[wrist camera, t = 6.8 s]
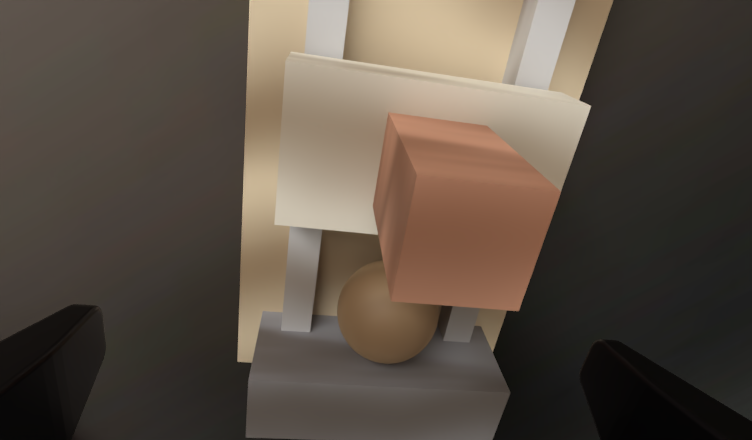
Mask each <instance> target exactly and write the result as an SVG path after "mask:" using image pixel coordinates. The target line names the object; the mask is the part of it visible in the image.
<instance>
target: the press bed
mask: <svg viewBox="0 0 752 440" xmlns="http://www.w3.org/2000/svg"><path fill="white" fill-rule="evenodd" d="M612 3H613V0H250V5H249V35H248V64H247V94H246V123H245V153H244V182H243V212H242V241H241V271H240V300H239V330H238V360H237V362H250V363H252V365H251V370H250V375H249V379H248V398H247V418H246V438H278V439H311V440H493V437H494V434H495V432H496V429H497V426H498V424H499V421H500V419H501V416H502V413H503V411H504V408H505V406H506V403H507V400H508V398H509V395H510V391H509V388H508V386H507V384H506V382H505V379H504V377H503V375H502V373H501V370H500V368H499V366H498V364H497V361H496V359H495V357H494V355H493V350H494V347H495V344H496V341H497V338H498V335H499V332H500V329H501V327H502V324H503V321H504V318H505V315H506V312H507V310H498V309H485V308H471V307H458V306H445V305H438V306H439V318H438V324H437V328H436V331H435V333H434V335H433V337H432V339H431V341H430V342H429V343H428V345H427V346H426V347H425V348H424V349H423V350H422V351H421V352H420V353H418V354H417V355H416V356H414V357H412V358H410V359H408V360H406V361H403V362H399V363H392V364H384V363H378V362H374V361H371V360H368V359H366V358H364V357H363V356H361V355H359V354H358V353H357V352H355V351H354V350H353V349H352V348H351V347H350V345H349V344H348V343H347V342H346V340H345V338H344V337H343V335H342V333H341V330H340V327H339V324H338V317H337V306H338V300H339V296H340V293H341V290H342V288H343V287H344V285H345V283H346V281H347V280H348V279H349V278H350V277H351V276H352V275H353V274H354V273H355V272H356V271H357V270H358V269H360V268H361V267H363V266H365V265H367V264H369V263H372V262H375V261H380V260H383V257H382V252H381V247H380V242H379V237H378V235H376V234H365V233H355V232H345V231H334V230H324V229H314V228H303V227H293V226H283V225H274V223H275V208H276V193H277V179H278V164H279V149H280V134H281V120H282V105H283V90H284V75H285V61H286V59H287V57H288V56H289V54H290V52H298V53H304V54H311V55H317V56H324V57H331V58H337V59H344V60H351V61H357V62H364V63H370V64H377V65H384V66H390V67H397V68H404V69H410V70H417V71H423V72H430V73H437V74H443V75H450V76H456V77H463V78H470V79H476V80H483V81H490V82H496V83H503V84H509V85H516V86H523V87H529V88H536V89H542V90H549V91H556V92H562V93H564V94H566V95H568V96H571V97H573V98H575V99H577V100H579V99H580V96H581V93H582V90H583V87H584V84H585V82H586V79H587V76H588V73H589V70H590V67H591V64H592V61H593V58H594V55H595V52H596V49H597V47H598V44H599V41H600V38H601V35H602V32H603V29H604V26H605V23H606V20H607V17H608V14H609V12H610V9H611V6H612Z"/></svg>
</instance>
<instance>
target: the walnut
mask: <svg viewBox="0 0 752 440" xmlns="http://www.w3.org/2000/svg"><path fill="white" fill-rule="evenodd" d="M337 317H338V324H339V327H340V330H341V333H342V335H343V337H344V338H345V340H346V342H347V343H348V344H349V345H350V347H351V348H352V349H353V350H354V351H355V352H357V353H358V354H359V355H361V356H363V357H364V358H366V359H368V360H371V361H374V362H378V363H384V364H392V363H399V362H403V361H406V360H408V359H410V358H412V357H414V356H416V355H417V354H418V353H420V352H421V351H422V350H423V349H424V348H425V347H426V346H427V345H428V343H429V342H430V341H431V339H432V337H433V335H434V333H435V331H436V328H437V324H438V318H439V306H438V305H432V304H418V303H405V302H392V301H391V299H390V294H389V289H388V283H387V278H386V273H385V268H384V263H383V260H380V261H375V262H372V263H369V264H367V265H365V266H363V267H361V268H360V269H358V270H357V271H356V272H355V273H354V274H353V275H352V276H351V277H350V278H349V279H348V280H347V281H346V283H345V285H344V287H343V288H342V290H341V293H340V296H339V300H338V306H337Z"/></svg>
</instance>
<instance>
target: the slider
mask: <svg viewBox="0 0 752 440" xmlns="http://www.w3.org/2000/svg"><path fill="white" fill-rule="evenodd" d="M590 108H591V106H590V105H588V104H586V103H584V102H581V101H579V100H577V99H575V98H573V97H571V96H568V95H566V94H564V93H562V92H556V91H549V90H542V89H536V88H529V87H523V86H516V85H509V84H503V83H496V82H490V81H483V80H476V79H470V78H463V77H456V76H450V75H443V74H437V73H430V72H423V71H417V70H410V69H404V68H397V67H390V66H384V65H377V64H370V63H364V62H357V61H351V60H344V59H337V58H331V57H324V56H317V55H311V54H304V53H298V52H290V54H289V56H288V57H287V59H286V61H285V75H284V90H283V105H282V120H281V134H280V149H279V164H278V179H277V193H276V208H275V223H274V225H283V226H293V227H303V228H314V229H324V230H334V231H345V232H355V233H365V234H376V235H378V237H379V242H380V247H381V252H382V257H383V263H384V268H385V273H386V278H387V283H388V289H389V294H390V299H391V301H392V302H405V303H418V304H432V305H445V306H458V307H471V308H485V309H498V310H511V311H519V309H520V306H521V303H522V300H523V298H524V295H525V292H526V289H527V286H528V284H529V281H530V278H531V275H532V272H533V270H534V267H535V264H536V261H537V258H538V256H539V253H540V250H541V247H542V244H543V241H544V239H545V236H546V233H547V230H548V227H549V225H550V222H551V219H552V216H553V213H554V211H555V208H556V205H557V202H558V199H559V197H560V194H561V190H562V187H563V184H564V181H565V178H566V176H567V173H568V170H569V167H570V164H571V161H572V159H573V156H574V153H575V150H576V147H577V145H578V142H579V139H580V136H581V133H582V131H583V128H584V125H585V122H586V119H587V117H588V114H589V111H590Z"/></svg>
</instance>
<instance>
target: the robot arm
mask: <svg viewBox="0 0 752 440" xmlns="http://www.w3.org/2000/svg"><path fill="white" fill-rule="evenodd" d="M105 350H106V342H105V333H104V324H103V315H102V311H101V309H100V308H99V307H98V306H94V305H79V304H73V305H70V306H68V307H66V308H64V309H62V310H60V311H58V312H56V313H54V314H52V315H50V316H48V317H46V318H44V319H42V320H41V321H39V322H37V323H35V324H33V325H31V326H29V327H27V328H25V329H23V330H21V331H19V332H17V333H15V334H13V335H12V336H10V337H8V338H6V339H4V340H2V341H0V440H71V438H72V436H73V434H74V431H75V429H76V426H77V424H78V421H79V419H80V416H81V414H82V411H83V409H84V406H85V404H86V401H87V399H88V396H89V394H90V391H91V389H92V386H93V384H94V381H95V379H96V376H97V374H98V371H99V369H100V366H101V364H102V361H103V359H104V355H105ZM580 383H581V386H582V389H583V392H584V395H585V397H586V400H587V403H588V406H589V409H590V411H591V414H592V417H593V420H594V423H595V425H596V428H597V431H598V434H599V437H600V439H601V440H752V421H750V420H748V419H747V418H745V417H743V416H742V415H740V414H738V413H737V412H735V411H733V410H732V409H730V408H729V407H727V406H725V405H724V404H722V403H720V402H719V401H717V400H715V399H714V398H712V397H710V396H709V395H707V394H705V393H704V392H702V391H700V390H699V389H697V388H695V387H694V386H692V385H690V384H689V383H687V382H686V381H684V380H682V379H681V378H679V377H677V376H676V375H674V374H672V373H671V372H669V371H667V370H666V369H664V368H662V367H661V366H659V365H657V364H656V363H654V362H652V361H651V360H649V359H647V358H646V357H644V356H642V355H641V354H639V353H638V352H636V351H634V350H633V349H631V348H629V347H628V346H626V345H624V344H623V343H621V342H619V341H616V340H603V339H599V340H596V341H595V342H594V343H593V344H592V346H591V348H590V350H589V352H588V355H587V357H586V359H585V361H584V363H583V366H582V368H581V370H580Z"/></svg>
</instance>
